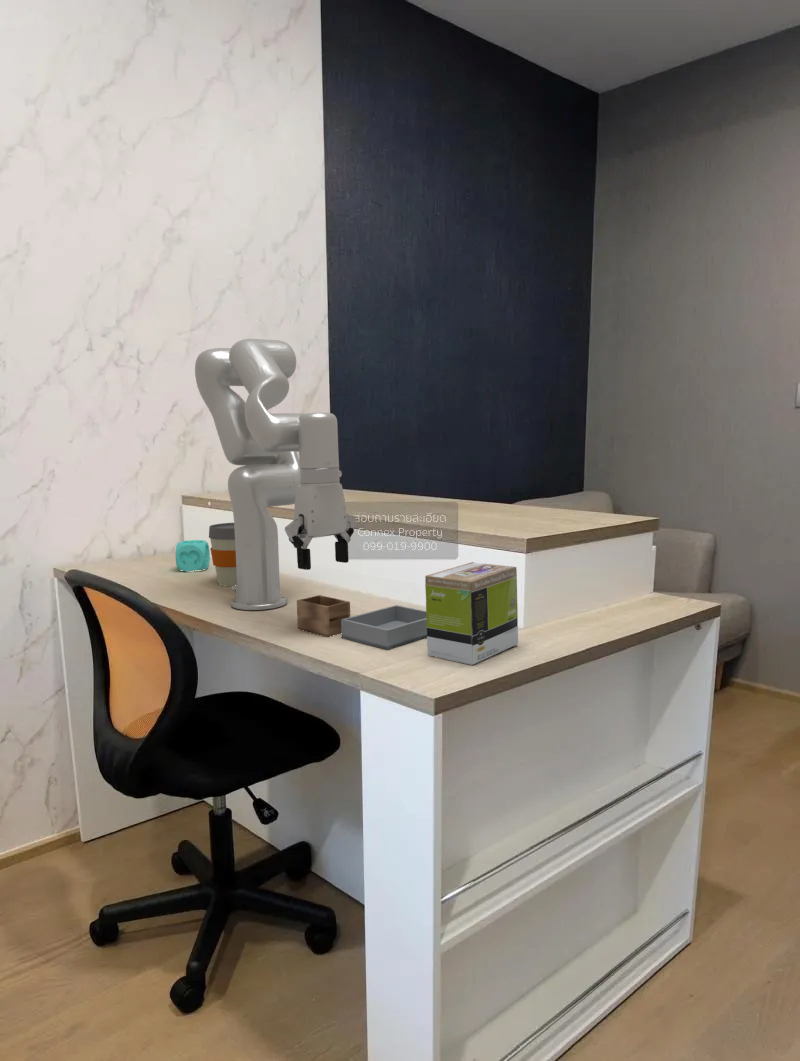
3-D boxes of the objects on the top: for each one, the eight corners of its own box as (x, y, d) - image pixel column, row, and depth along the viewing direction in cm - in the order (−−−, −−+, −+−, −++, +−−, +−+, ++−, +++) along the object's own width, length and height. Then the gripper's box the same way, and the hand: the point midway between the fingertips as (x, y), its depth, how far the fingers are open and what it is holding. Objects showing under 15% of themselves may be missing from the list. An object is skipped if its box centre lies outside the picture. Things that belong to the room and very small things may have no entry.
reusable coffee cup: (266, 577, 205) (263, 522, 203) (252, 587, 193) (249, 528, 191) (220, 577, 207) (217, 522, 205) (204, 587, 194) (200, 528, 192)
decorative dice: (182, 567, 223) (181, 540, 222) (210, 566, 223) (209, 539, 222) (176, 572, 215) (174, 544, 214) (205, 572, 215) (203, 543, 214)
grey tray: (341, 637, 146) (341, 619, 146) (396, 622, 157) (396, 605, 157) (387, 650, 138) (387, 630, 138) (442, 632, 149) (442, 614, 148)
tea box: (473, 637, 146) (473, 560, 144) (519, 646, 139) (519, 565, 137) (425, 656, 134) (423, 573, 132) (472, 667, 128) (472, 579, 126)
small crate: (297, 629, 153) (296, 600, 152) (320, 623, 157) (319, 595, 157) (327, 637, 147) (326, 607, 146) (350, 631, 151) (350, 601, 150)
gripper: (340, 475, 157) (343, 558, 159) (271, 480, 144) (276, 570, 146) (365, 475, 152) (368, 561, 154) (297, 480, 139) (301, 573, 141)
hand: (323, 565), depth 150 cm, fingers open, 9 cm apart
